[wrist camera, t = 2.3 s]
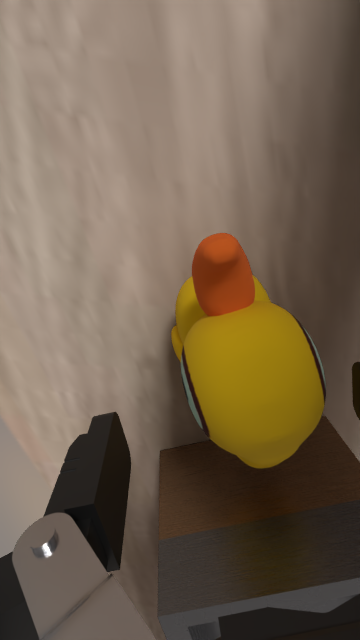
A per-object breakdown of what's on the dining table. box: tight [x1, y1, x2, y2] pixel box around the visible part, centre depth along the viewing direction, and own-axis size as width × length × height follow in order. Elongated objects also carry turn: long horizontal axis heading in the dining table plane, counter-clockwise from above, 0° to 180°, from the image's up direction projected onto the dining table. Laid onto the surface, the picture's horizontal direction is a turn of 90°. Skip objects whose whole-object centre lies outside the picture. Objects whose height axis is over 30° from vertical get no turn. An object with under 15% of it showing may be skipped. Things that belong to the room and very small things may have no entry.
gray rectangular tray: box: [158, 416, 360, 640], centre depth 20 cm, size 11×16×9 cm
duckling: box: [171, 233, 326, 468], centre depth 14 cm, size 11×5×10 cm, turn 18°
